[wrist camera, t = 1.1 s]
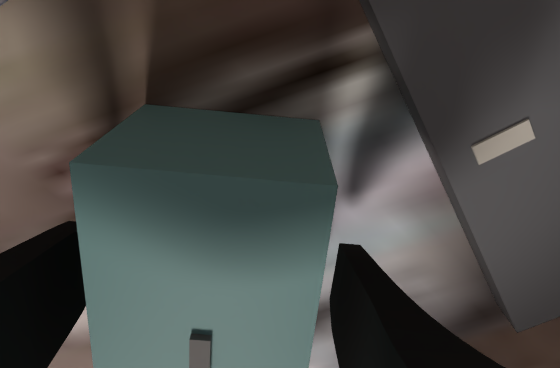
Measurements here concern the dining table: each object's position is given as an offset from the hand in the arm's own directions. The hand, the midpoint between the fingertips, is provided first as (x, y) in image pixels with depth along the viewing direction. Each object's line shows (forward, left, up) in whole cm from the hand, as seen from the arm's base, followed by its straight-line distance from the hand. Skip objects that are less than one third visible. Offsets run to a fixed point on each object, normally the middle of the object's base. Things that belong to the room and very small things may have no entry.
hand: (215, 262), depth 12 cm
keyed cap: (0, 0, -3) cm, 3 cm away
